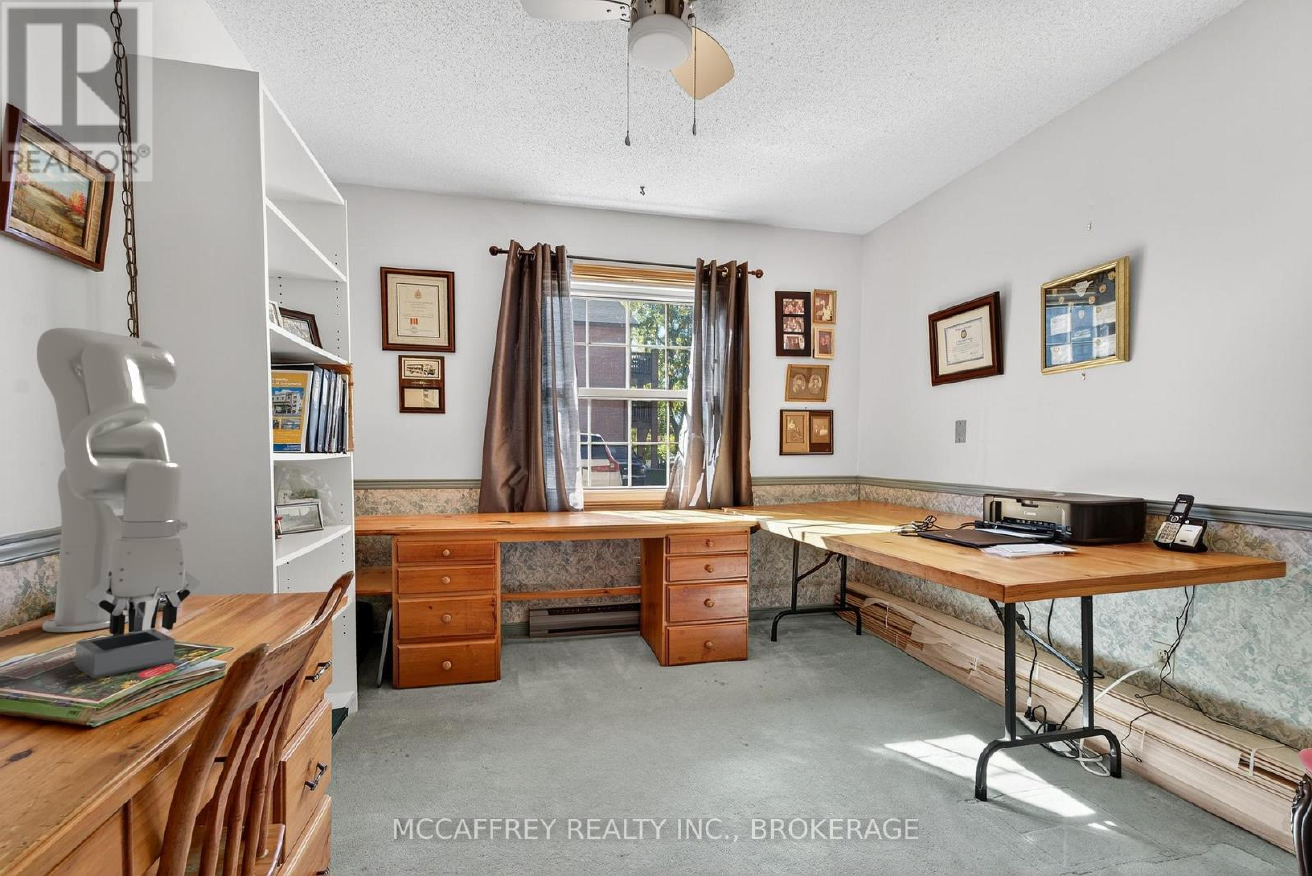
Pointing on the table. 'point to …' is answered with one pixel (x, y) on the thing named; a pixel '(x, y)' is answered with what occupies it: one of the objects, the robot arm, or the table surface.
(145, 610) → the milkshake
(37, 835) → the table surface
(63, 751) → the table surface
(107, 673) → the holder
